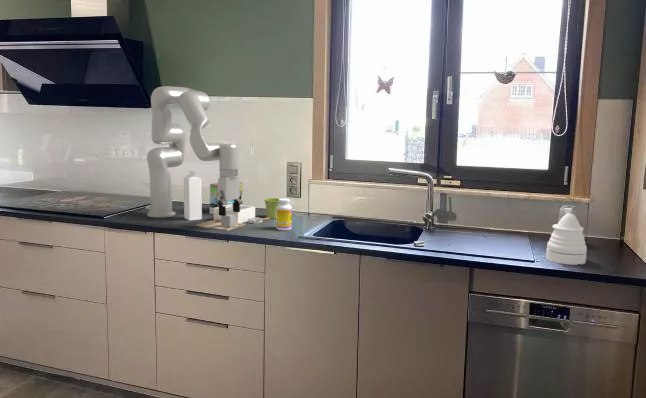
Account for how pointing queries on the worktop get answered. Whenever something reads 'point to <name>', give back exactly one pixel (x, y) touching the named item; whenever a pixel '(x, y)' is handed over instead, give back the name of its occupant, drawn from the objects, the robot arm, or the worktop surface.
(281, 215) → the supplement bottle
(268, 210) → the plant pot
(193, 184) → the milk
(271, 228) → the worktop surface
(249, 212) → the bin
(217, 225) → the tray
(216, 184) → the tea box
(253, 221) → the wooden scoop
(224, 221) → the gray block
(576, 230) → the honey pot
